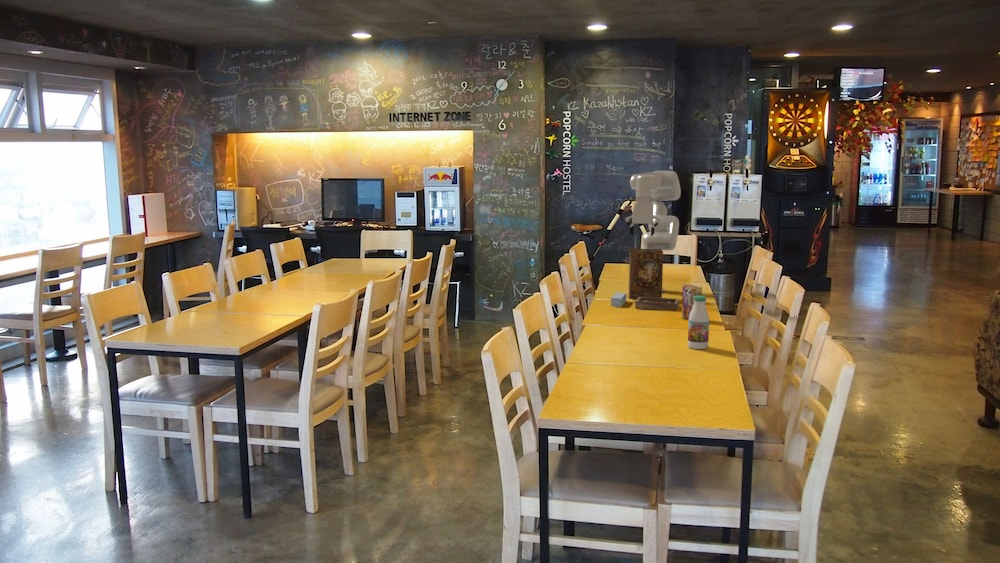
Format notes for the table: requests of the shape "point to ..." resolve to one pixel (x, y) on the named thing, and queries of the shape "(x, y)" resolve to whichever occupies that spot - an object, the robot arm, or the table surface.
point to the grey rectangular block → (618, 299)
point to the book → (645, 273)
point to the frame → (657, 303)
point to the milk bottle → (698, 324)
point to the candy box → (689, 299)
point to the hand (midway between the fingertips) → (642, 235)
